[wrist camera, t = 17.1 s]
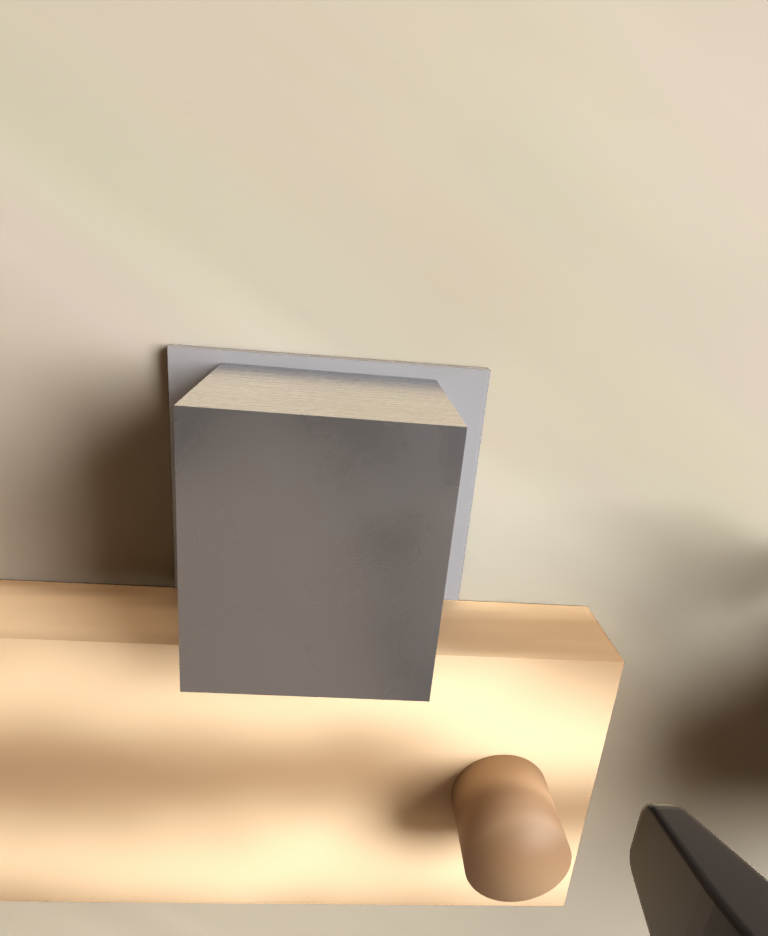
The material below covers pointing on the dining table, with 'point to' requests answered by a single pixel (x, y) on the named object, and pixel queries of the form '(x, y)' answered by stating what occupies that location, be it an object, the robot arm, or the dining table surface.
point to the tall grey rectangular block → (313, 531)
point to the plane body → (292, 763)
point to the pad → (456, 381)
